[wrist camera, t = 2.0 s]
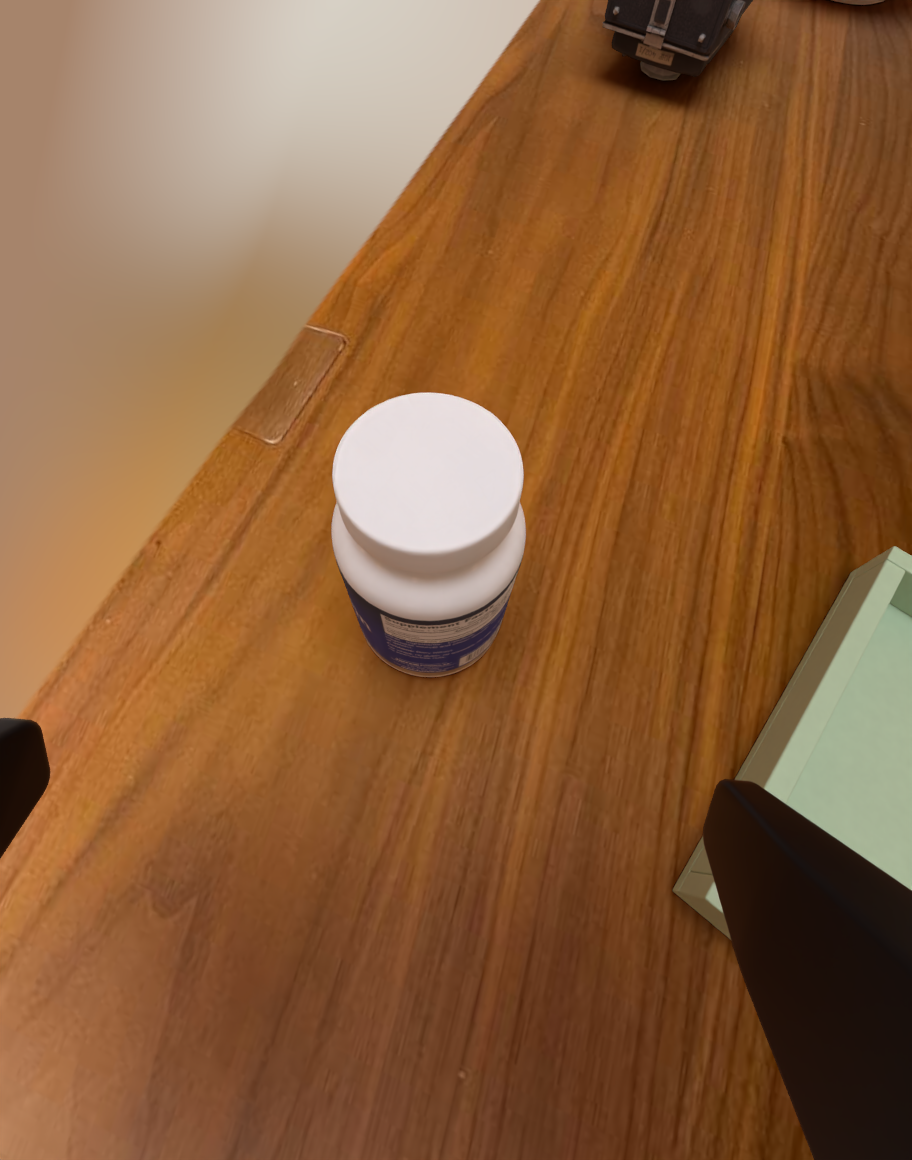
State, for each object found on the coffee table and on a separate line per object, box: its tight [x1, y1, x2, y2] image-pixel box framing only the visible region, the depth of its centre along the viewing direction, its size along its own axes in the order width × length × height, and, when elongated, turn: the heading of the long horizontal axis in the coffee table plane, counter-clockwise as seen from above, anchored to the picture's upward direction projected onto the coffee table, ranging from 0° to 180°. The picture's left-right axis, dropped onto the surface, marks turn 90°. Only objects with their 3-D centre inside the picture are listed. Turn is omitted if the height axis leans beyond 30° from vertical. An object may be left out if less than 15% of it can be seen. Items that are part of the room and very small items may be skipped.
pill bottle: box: [332, 393, 526, 677], centre depth 18 cm, size 6×6×10 cm
